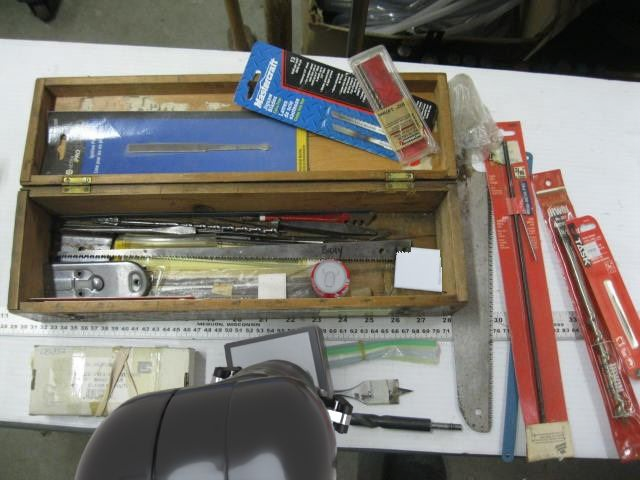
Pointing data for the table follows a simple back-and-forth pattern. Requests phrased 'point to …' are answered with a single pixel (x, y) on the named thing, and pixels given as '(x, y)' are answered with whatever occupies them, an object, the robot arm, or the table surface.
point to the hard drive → (418, 270)
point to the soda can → (330, 279)
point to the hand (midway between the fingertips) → (290, 388)
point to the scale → (281, 352)
